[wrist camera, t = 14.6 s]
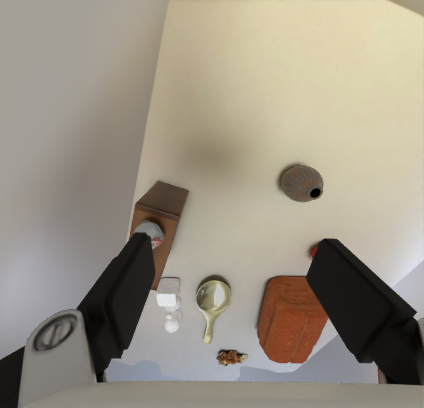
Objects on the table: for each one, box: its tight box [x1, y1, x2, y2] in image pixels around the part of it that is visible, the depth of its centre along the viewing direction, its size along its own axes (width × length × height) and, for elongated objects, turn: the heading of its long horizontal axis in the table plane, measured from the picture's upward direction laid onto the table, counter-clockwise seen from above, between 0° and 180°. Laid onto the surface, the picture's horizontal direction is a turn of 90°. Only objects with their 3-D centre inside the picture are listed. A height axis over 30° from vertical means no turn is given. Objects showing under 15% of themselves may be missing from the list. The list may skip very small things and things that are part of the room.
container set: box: [157, 278, 182, 333], centre depth 50 cm, size 20×5×6 cm, turn 178°
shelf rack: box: [129, 181, 189, 291], centre depth 35 cm, size 7×18×12 cm, turn 161°
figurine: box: [134, 220, 164, 249], centre depth 25 cm, size 5×4×6 cm
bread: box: [257, 276, 329, 363], centre depth 49 cm, size 16×27×11 cm, turn 179°
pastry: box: [217, 350, 248, 366], centre depth 65 cm, size 7×12×4 cm, turn 81°
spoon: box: [196, 280, 232, 344], centre depth 55 cm, size 35×11×2 cm, turn 175°
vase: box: [281, 166, 323, 202], centre depth 32 cm, size 7×7×9 cm
